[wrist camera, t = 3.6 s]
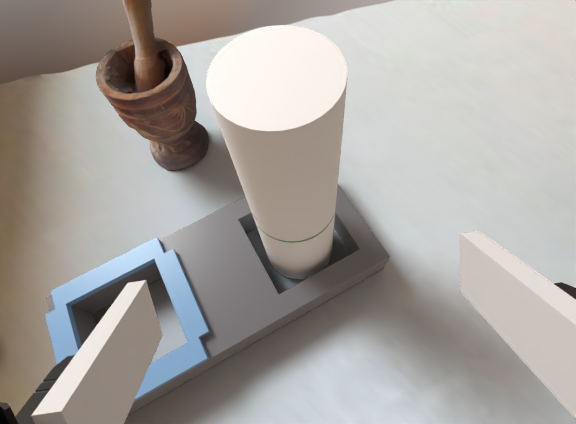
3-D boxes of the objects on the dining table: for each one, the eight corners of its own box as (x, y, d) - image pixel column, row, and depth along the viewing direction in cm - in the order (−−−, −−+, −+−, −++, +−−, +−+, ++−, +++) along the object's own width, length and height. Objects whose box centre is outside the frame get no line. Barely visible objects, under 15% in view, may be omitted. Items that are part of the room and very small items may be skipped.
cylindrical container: (312, 207, 43) (304, 8, 21) (344, 259, 40) (375, 92, 18) (256, 235, 42) (186, 57, 20) (285, 291, 39) (240, 154, 17)
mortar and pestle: (144, 110, 52) (52, -40, 34) (206, 95, 52) (146, -61, 34) (152, 180, 47) (48, 47, 29) (220, 163, 47) (159, 21, 29)
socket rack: (319, 177, 45) (320, 154, 41) (383, 268, 40) (390, 253, 35) (70, 306, 40) (40, 295, 36) (103, 429, 35) (73, 434, 31)
